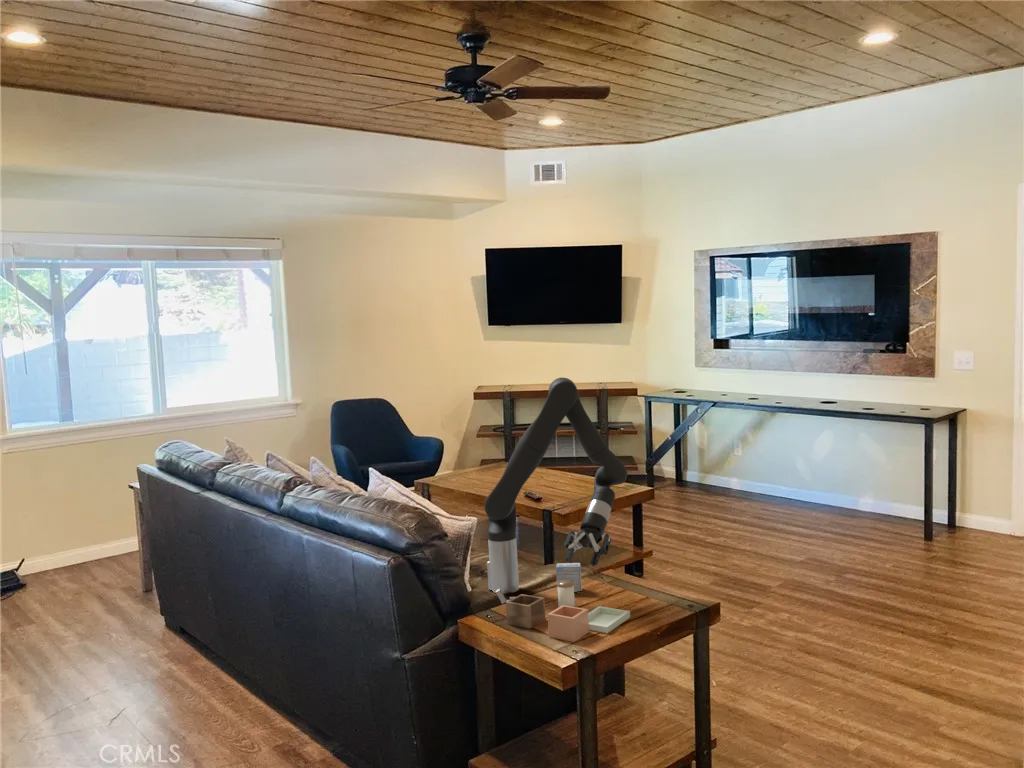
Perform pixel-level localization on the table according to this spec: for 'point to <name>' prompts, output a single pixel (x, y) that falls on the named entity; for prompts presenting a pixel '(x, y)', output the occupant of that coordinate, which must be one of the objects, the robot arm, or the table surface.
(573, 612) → the pink square bin
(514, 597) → the lighter
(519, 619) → the brown open square box
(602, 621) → the sage tray
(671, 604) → the table surface
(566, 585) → the cream canister
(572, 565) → the medicine box
